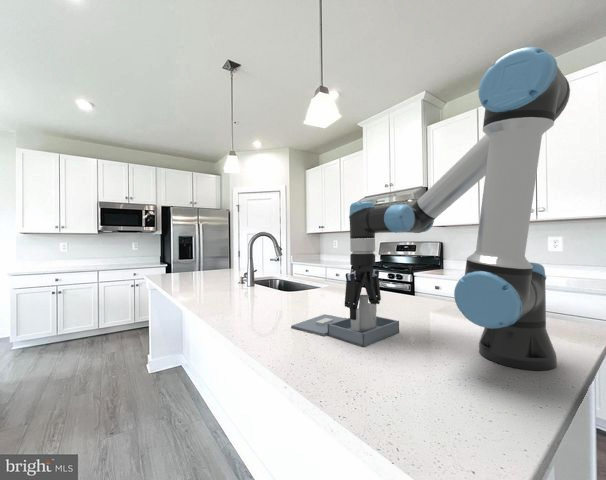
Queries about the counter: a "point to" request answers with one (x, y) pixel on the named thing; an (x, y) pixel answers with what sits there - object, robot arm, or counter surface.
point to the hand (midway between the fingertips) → (363, 327)
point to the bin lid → (317, 324)
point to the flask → (365, 314)
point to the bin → (363, 338)
